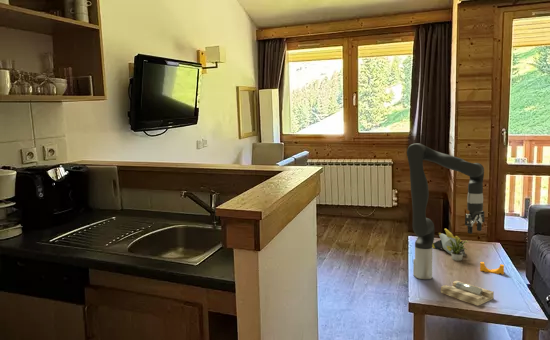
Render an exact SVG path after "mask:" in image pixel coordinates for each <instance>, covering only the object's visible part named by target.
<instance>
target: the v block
mask: <svg viewBox="0 0 550 340" xmlns="http://www.w3.org/2000/svg"><path fill="white" fill-rule="evenodd" d="M457 282H461V283H465V284H468V285H471V286H475V287H478V288H481V289H482V290H483V294H482V296H478V295H475V294H472V293H469V292H466V291H463V290H459V289H456V283H457ZM440 293H441V294H444V295H446V296H449V297H451V298H455V299H457V300H460V301H462V302H466V303H469V304H471V305H475V306H481V305H483V304H485V303H486V302H489V301H491V300H493V299H494V293H495V292H494V291H492V290H489V289H486V288H482V287H479V286H476V285H473V284H469V283H466V282H462V281H459V280H455V281H453V282H452V285H451V286H450V285H446V284H444V285H442V286H440Z"/></svg>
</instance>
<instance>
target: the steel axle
mask: <svg viewBox="0 0 550 340" xmlns="http://www.w3.org/2000/svg"><path fill="white" fill-rule="evenodd" d="M461 282H462V281H460V282H457V283H456V289H459V290H463V291H466V292H469V293H472V294H475V295H478V296H482V294H483V290H482V289H481V288H482V287H480V288H478V287H479V286H476V285H473V286H471V285H472V284H470V285H468V284H469V283H467V284H465V283H466V282H463V283H461ZM475 286H476V287H475Z"/></svg>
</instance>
